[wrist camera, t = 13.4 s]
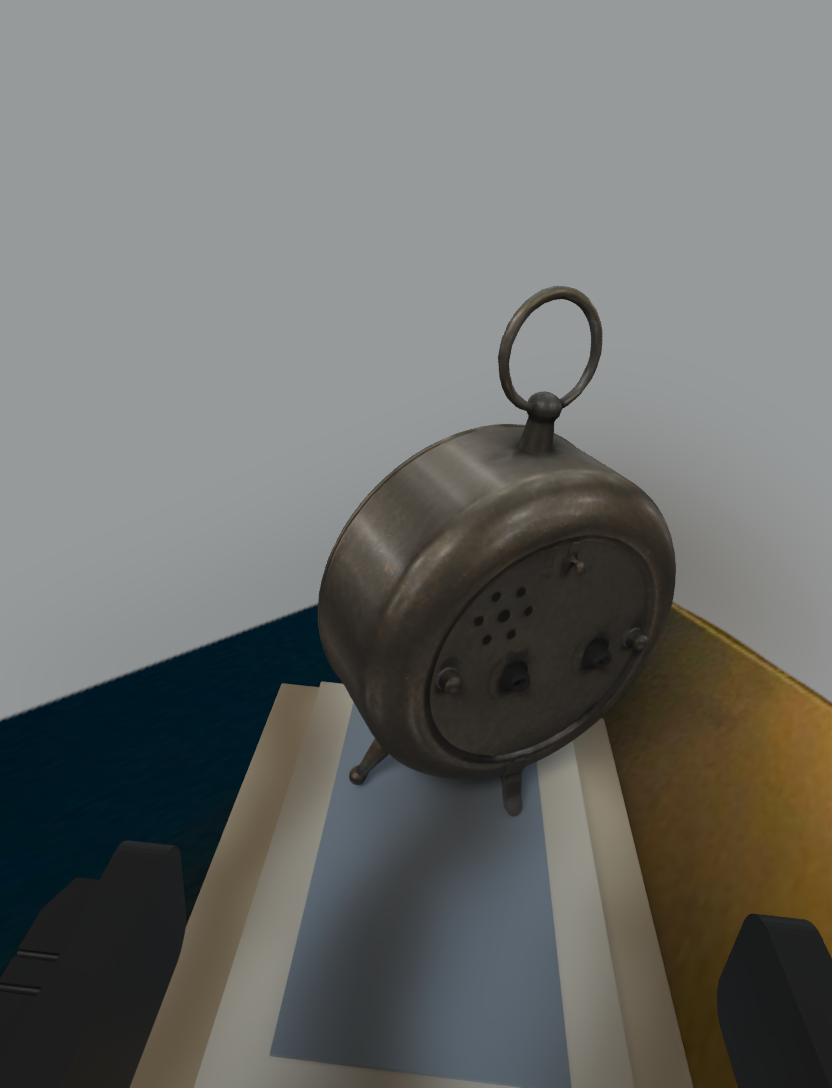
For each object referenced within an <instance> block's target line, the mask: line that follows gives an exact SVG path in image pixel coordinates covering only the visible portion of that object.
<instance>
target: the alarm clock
mask: <svg viewBox="0 0 832 1088" xmlns="http://www.w3.org/2000/svg"><path fill="white" fill-rule="evenodd" d="M557 299H565V300H569V301H571V302H573V303H575V304H576V305H578V306H579V307H580V308H581V309H582V311H583V312H584V314H585V316H586V318H587V320H588V322H589V326H590V331H591V351H590V358H589V361H588V364H587V366H586V368H585V370H584V373H583V375H582V377H581V378H580V380H579V382H578V383H577V385H576V386H575V387H574V388H573V389H572V390H571V391H570V392H569V393H568V394H566V395H565V396H564V397H563V398H561V399H559V398H558V397H557V396H555V395H553V394H552V393H549V392H538V393H535V394H534V395H532V396H531V397H530V398H529V400H528V402H527V401H525V400H524V399H523V398H521V397H520V396H519V395H518V394H517V392H516V391H515V389H514V387H513V385H512V381H511V377H510V373H509V359H510V354H511V348H512V344H513V342H514V340H515V338H516V336H517V333H518V331H519V330H520V328H521V326H522V324H523V323H524V321H525V320H526V319H527V317H528V316H529V315H530V314H531V313H532V312H533V311H534V310H535V309H537V308H538V307H540V306H541V305H543V304H544V303H547V302H549V301H552V300H557ZM601 350H602V327H601V321H600V318H599V316H598V313H597V310H596V308H595V307H594V306H593V304H592V303H591V301H590V300H589V298H588V297H587V296H585V295H584V294H583V293H581V292H580V291H578V290H577V289H574V288H570V287H565V286H554V287H549V288H546V289H543V290H541V291H539V292H538V293H536V294H535V295H533V296H532V297H531V298H529V299H528V300H526V301H525V303H524V304H523V305H522V306H521V307H520V308H519V309H518V310H517V311H516V313H515V314H514V316H513V318H512V319H511V321H510V322H509V323H508V325H507V328H506V331H505V333H504V335H503V337H502V340H501V344H500V350H499V355H498V360H499V361H498V362H499V373H500V374H499V375H500V380H501V385H502V388H503V390H504V393H505V395H506V397H507V398H508V399H509V400H510V401H511V402H512V403H513V404H514V405H515V406H516V407H518V408H519V409H522V410H525V411H527V413H528V415H529V417H528V420H527V423H526V425H517V424H501V425H490V426H483V427H478V428H475V429H470V430H467V431H463V432H460V433H457V434H454V435H452V436H450V437H447V438H445V439H443V440H441V441H438V442H436V443H434V444H432V445H430V446H429V447H427V448H425V449H423V450H422V451H420V452H418V453H417V454H415V455H413V456H412V457H411V458H409V459H408V460H406V461H405V462H403V463H402V464H401V465H399V466H398V467H397V468H396V469H394V470H393V471H392V472H391V473H390V474H389V475H388V476H386V477H385V478H384V479H383V480H382V481H381V482H380V483H379V484H378V485H377V486H376V487H375V488H374V489H373V490H372V491H371V492H370V493H369V494H368V496H367V497H366V498H365V499H364V500H363V502H362V503H361V504H360V505H359V507H358V508H357V509H356V510H355V512H354V513H353V514H352V516H351V517H350V519H349V520H348V522H347V523H346V525H345V527H344V528H343V530H342V532H341V534H340V536H339V537H338V539H337V541H336V544H335V546H334V547H333V549H332V552H331V554H330V556H329V559H328V561H327V564H326V567H325V571H324V574H323V578H322V581H321V587H320V591H319V602H318V626H319V633H320V638H321V642H322V646H323V649H324V652H325V655H326V657H327V659H328V661H329V663H330V666H331V668H332V669H333V671H334V672H335V673H336V675H337V676H338V677H339V678H340V679H341V681H342V683H343V684H344V686H345V688H346V690H347V691H348V693H349V695H350V697H351V699H352V700H353V702H354V704H355V706H356V707H357V709H358V711H359V713H360V714H361V716H362V718H363V720H364V721H365V723H366V725H367V726H368V728H369V730H370V732H371V733H372V735H373V736H374V737H375V739H374V740H373V742H372V744H371V746H370V747H369V749H368V751H367V752H366V754H365V756H364V758H363V759H362V761H361V763H360V765H357V766H355V767H353V768H352V769H351V771H350V773H349V779H350V781H351V782H352V784H354V785H361V784H363V783H364V781H365V779H366V778H367V775H368V773H369V772H370V771H371V770H372V769H373V768H374V767H375V766H376V765H377V764H379V763H380V762H381V761H382V760H383V759H384V758H386V757H387V756H388V755H389V754H390V755H391V756H392V757H393V758H394V759H395V760H397V761H398V762H399V763H401V764H403V765H404V766H406V767H408V768H410V769H413V770H415V771H418V772H420V773H423V774H427V775H430V776H435V777H440V778H448V779H478V778H486V777H493V776H499V777H500V778H501V782H502V796H503V805H504V808H505V810H506V811H507V812H508V814H509V815H510V816H516V815H518V814H519V813H520V812H521V809H522V799H521V782H522V771H523V769H524V768H525V767H526V766H528V765H530V764H532V763H535V762H537V761H539V760H541V759H543V758H545V757H547V756H549V755H551V754H552V753H554V752H556V751H558V750H559V749H561V748H563V747H564V746H566V745H567V744H569V743H570V742H572V741H573V740H575V739H576V738H577V737H579V736H580V735H582V734H583V733H584V732H585V731H587V730H588V729H589V728H590V727H592V726H593V725H594V724H595V723H596V722H597V721H599V720H600V719H601V718H602V717H603V716H604V715H605V714H606V713H607V712H608V711H609V710H610V709H611V708H612V707H613V706H614V705H615V704H616V703H617V702H618V701H619V700H620V699H621V698H622V696H623V695H624V694H625V693H626V692H627V690H628V689H629V688H630V686H631V685H632V684H633V683H634V681H635V680H636V679H637V677H638V676H639V674H640V673H641V671H642V670H643V668H644V667H645V665H646V663H647V662H648V660H649V658H650V657H651V655H652V653H653V651H654V649H655V647H656V645H657V643H658V641H659V639H660V637H661V635H662V632H663V630H664V627H665V624H666V621H667V618H668V616H669V612H670V609H671V605H672V601H673V595H674V587H675V573H676V565H675V564H676V563H675V554H674V553H675V552H674V548H673V543H672V538H671V534H670V532H669V529H668V526H667V524H666V522H665V519H664V517H663V515H662V513H661V512H660V510H659V509H658V507H657V506H656V504H655V503H654V502H653V500H652V499H651V498H650V497H649V496H648V495H647V494H646V493H645V492H644V491H643V490H642V489H640V488H639V487H638V486H637V485H636V484H634V483H633V482H631V481H629V480H628V479H626V478H625V477H623V476H622V475H620V474H619V473H617V472H615V471H614V470H612V469H611V468H609V467H607V466H606V465H604V464H602V463H601V462H599V461H598V460H596V459H594V458H593V457H591V456H589V455H587V454H586V453H585V452H583V451H581V450H580V449H578V448H576V447H575V446H574V445H573V444H571V443H570V442H569V441H567V440H566V439H564V438H563V437H561V436H559V435H557V434H555V433H554V422H555V420H556V419H557V418H558V417H559V416H560V413H561V410H562V408H564V407H566V406H568V405H569V404H570V403H571V402H572V401H573V400H575V399H576V398H577V397H578V396H579V395H580V394H581V393H582V391H583V390H584V389H585V387H586V386H587V385H588V383H589V382H590V380H591V379H592V377H593V375H594V373H595V371H596V368H597V365H598V362H599V359H600V356H601Z"/></svg>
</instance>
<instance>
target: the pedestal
mask: <svg viewBox="0 0 832 1088" xmlns="http://www.w3.org/2000/svg"><path fill="white" fill-rule="evenodd" d="M374 739H375V737H374V736H373V735H372V733H371V732H370V730H369V728H368V726H367V725H366V723H365V721H364V720H363V718H362V716H361V714H360V713H359V711H358V709H357V707H356V706H355V704H354V702H353V700H352V699H351V697H350V695H349V693H348V691H347V690H346V688H345V686H344V684H339V683H329V682H321V684H320V687H310V686H301V685H291V684H281V687H280V690H279V692H278V695H277V697H276V700H275V702H274V705H273V707H272V710H271V712H270V715H269V717H268V720H267V723H266V725H265V728H264V730H263V733H262V735H261V738H260V740H259V743H258V745H257V748H256V751H255V753H254V756H253V758H252V761H251V763H250V766H249V768H248V771H247V773H246V776H245V779H244V781H243V784H242V786H241V789H240V791H239V794H238V796H237V799H236V801H235V804H234V807H233V809H232V812H231V814H230V817H229V819H228V822H227V824H226V827H225V829H224V832H223V835H222V837H221V840H220V842H219V845H218V847H217V850H216V852H215V855H214V857H213V860H212V863H211V865H210V868H209V870H208V873H207V875H206V878H205V880H204V883H203V885H202V888H201V891H200V893H199V896H198V898H197V901H196V903H195V906H194V908H193V911H192V913H191V916H190V918H189V921H188V924H187V926H186V929H185V935H184V940H183V945H182V949H181V953H180V956H179V959H178V962H177V965H176V968H175V970H174V973H173V976H172V978H171V981H170V983H169V986H168V989H167V991H166V994H165V996H164V999H163V1002H162V1004H161V1007H160V1010H159V1012H158V1015H157V1017H156V1020H155V1023H154V1025H153V1028H152V1031H151V1033H150V1036H149V1038H148V1041H147V1044H146V1046H145V1049H144V1052H143V1054H142V1057H141V1059H140V1062H139V1065H138V1067H137V1070H136V1072H135V1075H134V1078H133V1080H132V1083H131V1086H130V1088H693V1084H692V1080H691V1076H690V1072H689V1067H688V1063H687V1059H686V1055H685V1051H684V1047H683V1043H682V1039H681V1034H680V1030H679V1026H678V1022H677V1018H676V1014H675V1010H674V1006H673V1002H672V997H671V993H670V989H669V985H668V981H667V977H666V973H665V969H664V964H663V960H662V956H661V952H660V948H659V944H658V940H657V936H656V932H655V927H654V923H653V919H652V915H651V911H650V907H649V903H648V899H647V894H646V890H645V886H644V882H643V878H642V874H641V870H640V866H639V862H638V857H637V853H636V849H635V845H634V841H633V837H632V833H631V829H630V824H629V820H628V816H627V812H626V808H625V804H624V800H623V796H622V792H621V787H620V783H619V779H618V775H617V771H616V767H615V763H614V759H613V754H612V750H611V746H610V742H609V738H608V734H607V730H606V726H605V722H604V719H603V718H601V719H600V720H599V721H597V722H596V723H595V724H594V725H593V726H592V727H590V728H589V729H588V730H587V731H585V732H584V733H583V734H582V735H580V736H579V737H577V738H576V739H575V740H573V741H572V742H570V743H569V744H567V745H566V746H564V747H563V748H561V749H559V750H558V751H556V752H554V753H552V754H551V755H549V756H547V757H545V758H543V759H541V760H539V761H537V762H535V763H532V764H530V765H528V766H526V767H525V768H524V769H523V771H522V782H521V799H522V809H521V812H520V813H519V814H518V815H516V816H510V815H509V814H508V812H507V811H506V810H505V808H504V805H503V796H502V782H501V778H500V777H499V776H493V777H486V778H478V779H448V778H440V777H435V776H430V775H427V774H423V773H420V772H418V771H415V770H413V769H410V768H408V767H406V766H404V765H403V764H401V763H399V762H398V761H397V760H395V759H394V758H393V757H392V756H391V755H390V754H389V755H388V756H387V757H386V758H384V759H383V760H382V761H381V762H380V763H379V764H377V765H376V766H375V767H374V768H373V769H372V770H371V771H370V772H369V773H368V775H367V778H366V779H365V781H364V783H363V784H361V785H354V784H352V782H351V781H350V779H349V773H350V771H351V769H352V768H353V767H355V766H357V765H360V763H361V761H362V759H363V758H364V756H365V754H366V752H367V751H368V749H369V747H370V746H371V744H372V742H373V740H374Z"/></svg>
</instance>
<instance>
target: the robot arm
mask: <svg viewBox="0 0 832 1088" xmlns="http://www.w3.org/2000/svg"><path fill="white" fill-rule="evenodd" d="M185 928H186V905H185V895H184V884H183V874H182V864H181V854H180V850H179V848H178V847H177V846H172V845H164V844H155V843H146V842H137V841H128V840H127V841H124V842H122V843H121V844H120V845H119V846H118V848H117V849H116V851H115V852H114V854H113V856H112V858H111V860H110V861H109V863H108V865H107V867H106V869H105V871H104V873H103V874H102V876H101V878H100V880H95V879H87V878H78V877H76V878H75V879H74V880H73V881H72V882H71V883H70V884H69V885H67V886H66V887H65V888H64V889H63V890H62V891H61V892H60V893H59V894H58V895H57V896H55V897H54V898H53V899H52V900H51V901H50V902H49V903H48V904H47V905H46V906H44V907H43V908H42V909H41V911H40V913H39V914H38V916H37V918H36V919H35V921H34V923H33V924H32V926H31V928H30V929H29V931H28V933H27V934H26V936H25V938H24V939H23V941H22V943H21V944H20V946H19V948H18V952H17V955H16V956H15V957H13V958H12V959H11V961H10V963H9V964H8V966H7V968H6V969H5V971H4V973H3V974H2V976H1V978H0V1088H130V1086H131V1083H132V1080H133V1078H134V1075H135V1072H136V1070H137V1067H138V1065H139V1062H140V1059H141V1057H142V1054H143V1052H144V1049H145V1046H146V1044H147V1041H148V1038H149V1036H150V1033H151V1031H152V1028H153V1025H154V1023H155V1020H156V1017H157V1015H158V1012H159V1010H160V1007H161V1004H162V1002H163V999H164V996H165V994H166V991H167V989H168V986H169V983H170V981H171V978H172V976H173V973H174V970H175V968H176V965H177V962H178V959H179V956H180V953H181V949H182V945H183V940H184V935H185ZM717 1007H718V1016H719V1022H720V1027H721V1031H722V1034H723V1038H724V1041H725V1045H726V1048H727V1051H728V1055H729V1058H730V1061H731V1065H732V1068H733V1072H734V1075H735V1078H736V1082H737V1085H738V1088H832V959H831V956H830V954H829V952H828V950H827V948H826V946H825V944H824V942H823V939H822V937H821V935H820V934H819V932H818V930H817V929H816V927H815V926H814V925H813V924H812V923H811V922H809V921H807V920H804V919H795V918H786V917H777V916H768V915H760V914H750V915H748V916H747V917H746V918H745V920H744V922H743V925H742V927H741V929H740V932H739V934H738V936H737V939H736V941H735V944H734V946H733V948H732V951H731V953H730V955H729V958H728V960H727V962H726V965H725V967H724V970H723V972H722V974H721V977H720V980H719V984H718V991H717Z"/></svg>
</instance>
